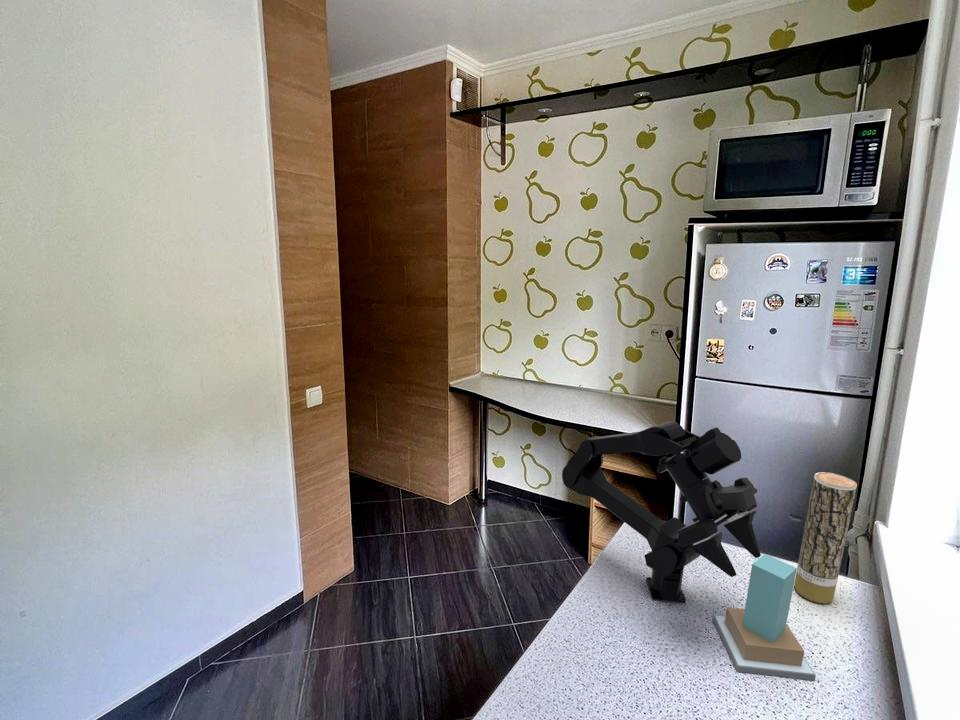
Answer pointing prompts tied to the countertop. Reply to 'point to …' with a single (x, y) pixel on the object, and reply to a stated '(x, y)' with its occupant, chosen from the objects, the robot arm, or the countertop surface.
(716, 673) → the countertop surface
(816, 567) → the wooden log
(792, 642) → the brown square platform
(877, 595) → the countertop surface
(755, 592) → the teal block
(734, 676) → the countertop surface
